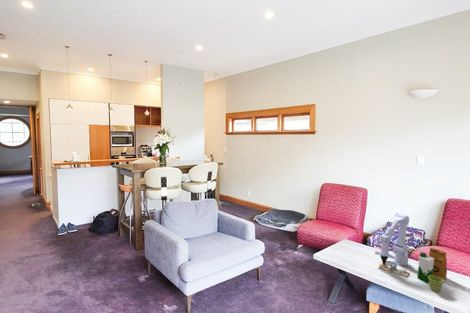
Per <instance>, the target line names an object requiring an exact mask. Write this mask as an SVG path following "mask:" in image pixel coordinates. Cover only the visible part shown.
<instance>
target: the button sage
mask: <svg viewBox="0 0 470 313" xmlns="http://www.w3.org/2000/svg"><path fill="white" fill-rule="evenodd" d="M399 269H400V272H401V273H404V274H406V271H407V270H406V269H405V268H399Z"/></svg>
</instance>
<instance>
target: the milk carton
mask: <svg viewBox="0 0 470 313" xmlns="http://www.w3.org/2000/svg"><path fill="white" fill-rule="evenodd" d="M433 263H434V258H432V257H430V256H429V255H428V254H427V253H425V252H420V254H419V255H418V267H417V268H418V269H417V279H419V280H421V281H422V282H425V283H430V282H429V278H428V276H430V275H433Z"/></svg>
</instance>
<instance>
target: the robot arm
mask: <svg viewBox="0 0 470 313" xmlns="http://www.w3.org/2000/svg"><path fill="white" fill-rule="evenodd" d="M393 216H394V217H393V222H392V224H391V225H390V227H387V229H386V230H385V232H384V233H382V234H381V235H380V238H379V239H380V243H381V248H380V251H377V250H376V251H374V254H375V255H379V256H380V259H381V263H383V265H385V264H386V262H387V261H388V259H389V258H390V259H393V260H392V262H393V263H395V264H396V266H409V255H408V245H407V244H406V235H407V228H408V226H409V223H410V218H409V216H408V215H405V214H401V213H397V212H396V213H395V214H394V215H393ZM398 226H399V231H398V237H397V238H398V239H397V242H394V245H393V248H392V249H393V251H394V253H395V255H392V254H390V242H391V241H392V238H393V236H394V234H395V230H396V229H397V228H398Z"/></svg>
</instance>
